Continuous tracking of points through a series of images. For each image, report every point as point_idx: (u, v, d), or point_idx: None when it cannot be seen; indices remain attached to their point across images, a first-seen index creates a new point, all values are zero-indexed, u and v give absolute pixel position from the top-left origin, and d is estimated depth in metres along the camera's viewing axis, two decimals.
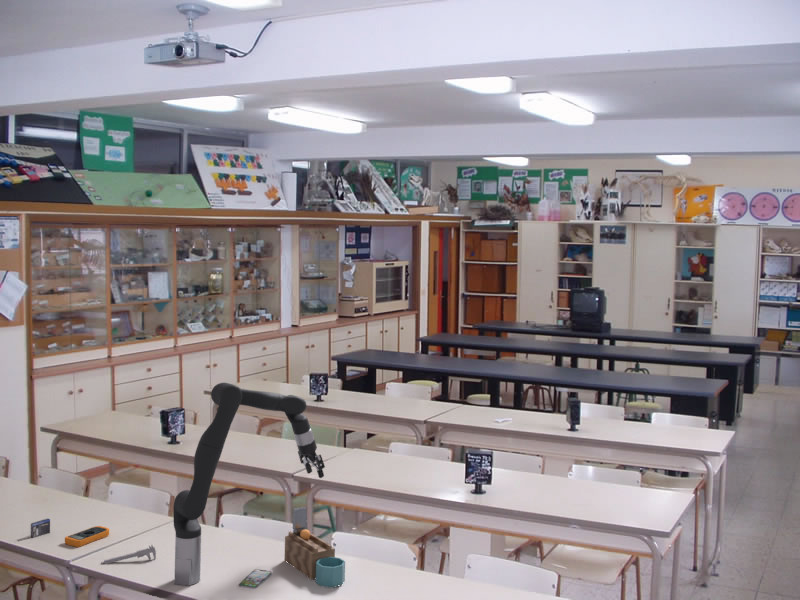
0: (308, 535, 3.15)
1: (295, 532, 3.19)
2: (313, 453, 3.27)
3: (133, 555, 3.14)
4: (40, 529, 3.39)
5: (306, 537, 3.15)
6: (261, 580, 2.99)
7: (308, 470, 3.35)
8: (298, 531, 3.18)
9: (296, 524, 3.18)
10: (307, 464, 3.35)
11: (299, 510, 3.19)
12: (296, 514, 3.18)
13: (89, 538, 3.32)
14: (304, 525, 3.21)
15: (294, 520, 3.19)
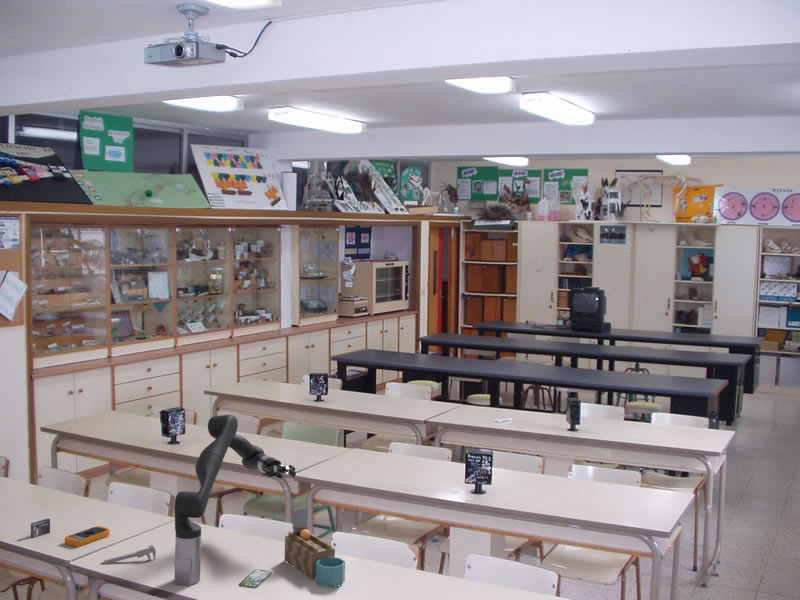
0: (308, 535, 3.15)
1: (295, 532, 3.19)
2: None
3: (133, 555, 3.14)
4: (40, 529, 3.39)
5: (306, 537, 3.15)
6: (261, 580, 2.99)
7: None
8: (298, 531, 3.18)
9: (296, 524, 3.18)
10: None
11: (299, 510, 3.19)
12: (296, 514, 3.18)
13: (89, 538, 3.32)
14: (304, 525, 3.21)
15: (294, 520, 3.19)
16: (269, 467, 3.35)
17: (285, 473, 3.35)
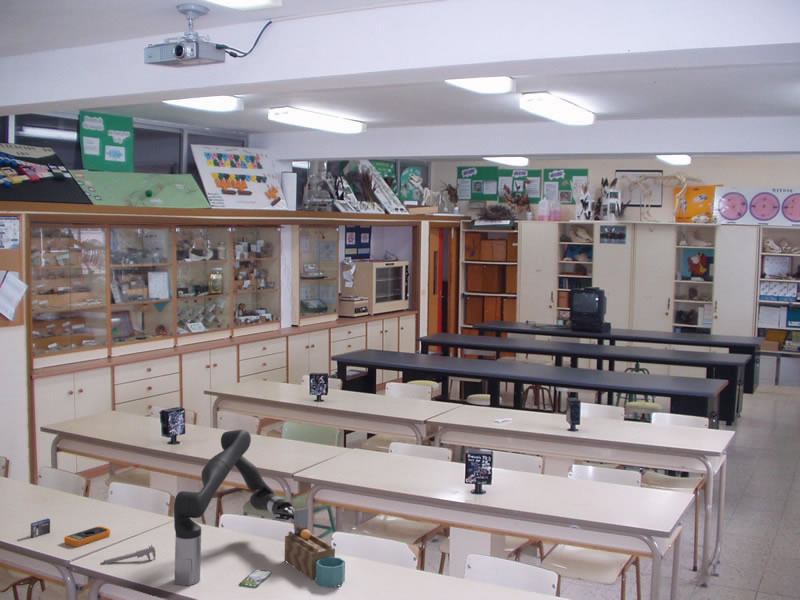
0: (308, 535, 3.15)
1: (296, 533, 3.18)
2: None
3: (133, 555, 3.14)
4: (40, 529, 3.39)
5: (306, 537, 3.15)
6: (261, 580, 2.99)
7: None
8: (300, 531, 3.17)
9: (297, 524, 3.18)
10: None
11: (300, 511, 3.18)
12: (297, 514, 3.17)
13: (88, 538, 3.32)
14: (305, 526, 3.20)
15: (295, 521, 3.18)
16: (279, 509, 3.27)
17: None
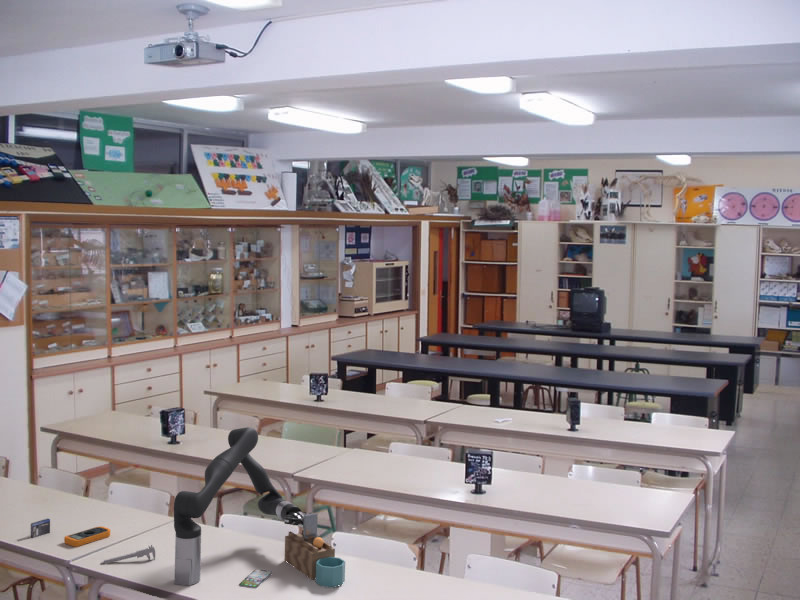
0: (320, 538, 3.08)
1: (306, 539, 3.11)
2: None
3: (133, 555, 3.14)
4: (40, 529, 3.39)
5: (318, 540, 3.07)
6: (261, 580, 2.99)
7: None
8: (309, 537, 3.11)
9: (306, 530, 3.11)
10: None
11: (310, 516, 3.12)
12: (306, 520, 3.11)
13: (88, 538, 3.32)
14: (315, 531, 3.13)
15: (305, 526, 3.11)
16: (288, 515, 3.21)
17: None
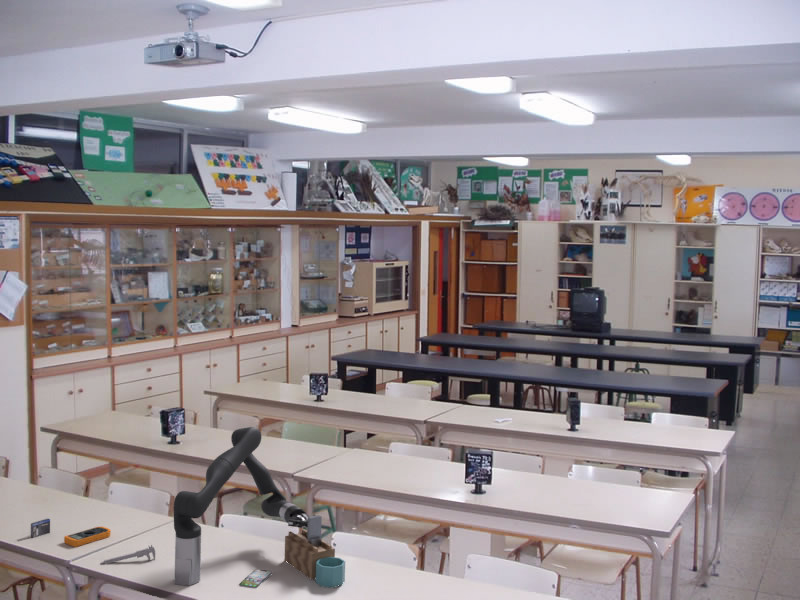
0: None
1: (310, 541, 3.09)
2: None
3: (133, 555, 3.14)
4: (40, 529, 3.39)
5: None
6: (261, 580, 2.99)
7: None
8: (313, 540, 3.08)
9: (310, 533, 3.09)
10: None
11: (314, 518, 3.09)
12: (310, 522, 3.08)
13: (87, 538, 3.32)
14: (319, 534, 3.11)
15: (309, 529, 3.09)
16: (291, 517, 3.19)
17: None
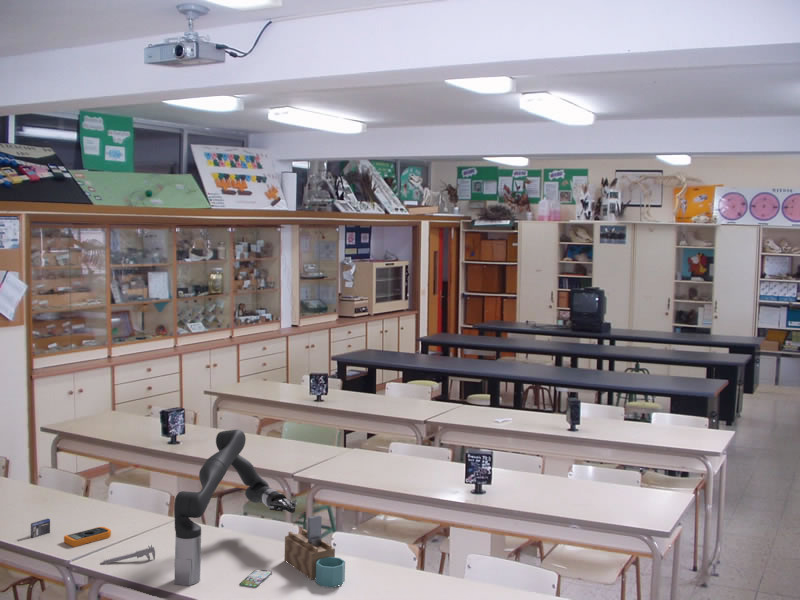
0: None
1: (310, 541, 3.09)
2: None
3: (132, 555, 3.14)
4: (40, 529, 3.39)
5: None
6: (261, 580, 2.99)
7: None
8: (313, 540, 3.08)
9: (310, 533, 3.09)
10: None
11: (314, 518, 3.09)
12: (310, 522, 3.08)
13: (86, 538, 3.31)
14: (319, 534, 3.11)
15: (309, 529, 3.09)
16: (273, 501, 3.32)
17: None
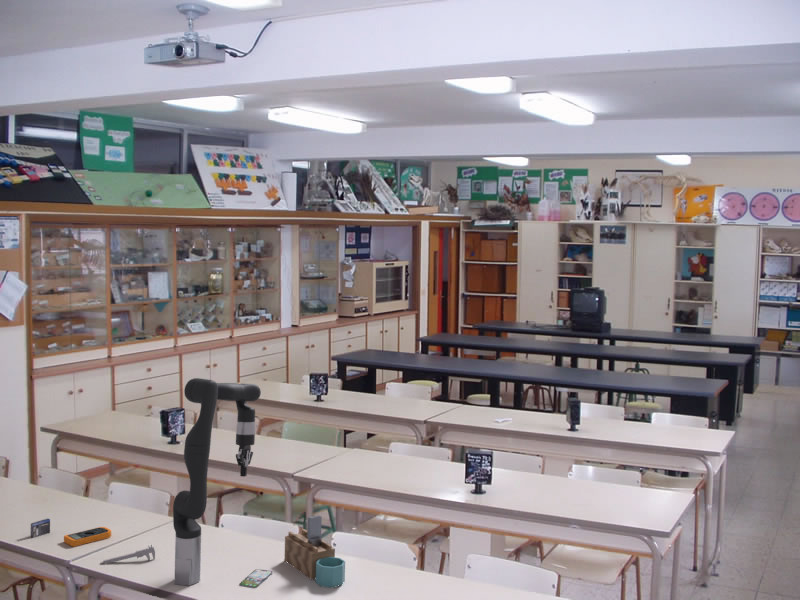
0: None
1: (310, 541, 3.09)
2: None
3: (132, 555, 3.14)
4: (40, 529, 3.39)
5: None
6: (261, 580, 2.99)
7: None
8: (313, 540, 3.08)
9: (310, 533, 3.09)
10: None
11: (314, 518, 3.09)
12: (310, 522, 3.08)
13: (86, 538, 3.31)
14: (319, 534, 3.11)
15: (309, 529, 3.09)
16: (244, 449, 3.21)
17: None
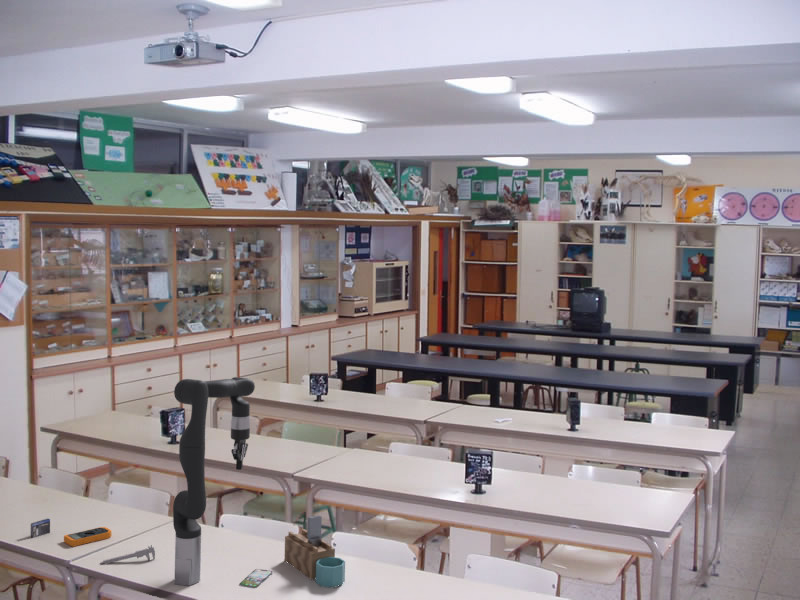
0: None
1: (310, 541, 3.09)
2: None
3: (132, 555, 3.14)
4: (40, 529, 3.39)
5: None
6: (262, 580, 2.99)
7: None
8: (313, 540, 3.08)
9: (310, 533, 3.09)
10: None
11: (314, 518, 3.09)
12: (310, 522, 3.08)
13: (85, 538, 3.31)
14: (319, 534, 3.11)
15: (309, 529, 3.09)
16: (239, 443, 3.20)
17: None
